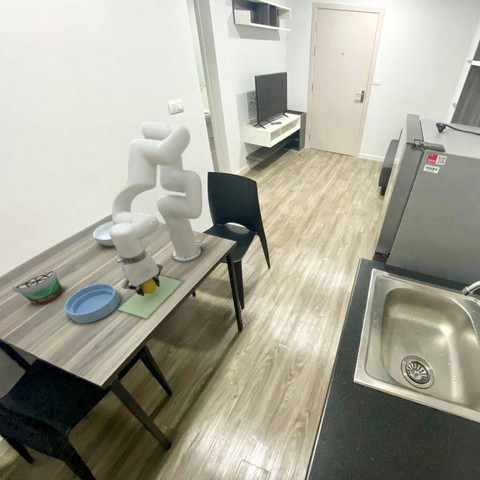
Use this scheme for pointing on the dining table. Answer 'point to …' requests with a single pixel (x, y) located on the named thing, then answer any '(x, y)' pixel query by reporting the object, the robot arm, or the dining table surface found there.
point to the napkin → (150, 298)
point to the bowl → (92, 303)
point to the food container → (41, 288)
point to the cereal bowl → (104, 234)
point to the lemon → (148, 286)
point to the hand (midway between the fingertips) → (149, 289)
